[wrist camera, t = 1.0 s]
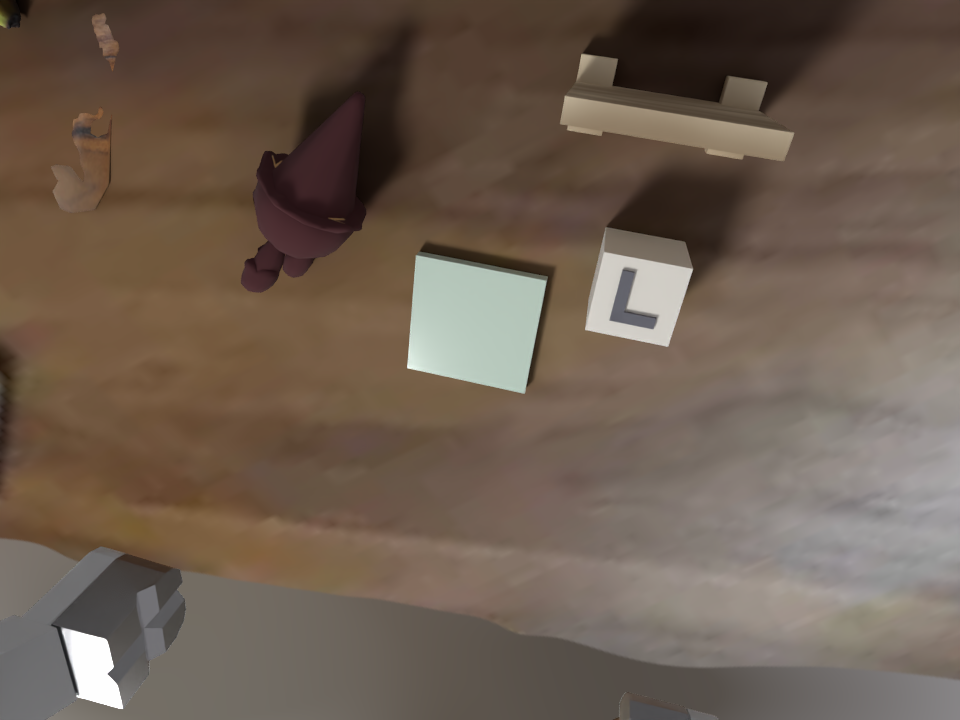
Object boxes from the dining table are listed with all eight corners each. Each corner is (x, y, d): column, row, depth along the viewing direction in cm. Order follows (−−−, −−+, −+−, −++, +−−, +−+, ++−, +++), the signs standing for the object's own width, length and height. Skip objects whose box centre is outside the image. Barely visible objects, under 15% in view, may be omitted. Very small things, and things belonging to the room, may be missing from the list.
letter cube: (605, 226, 39) (603, 253, 34) (685, 241, 38) (693, 270, 34) (588, 298, 41) (585, 331, 37) (662, 312, 41) (668, 348, 36)
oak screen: (582, 53, 34) (571, 61, 27) (764, 81, 33) (807, 98, 26) (568, 127, 36) (554, 155, 29) (739, 156, 35) (772, 192, 28)
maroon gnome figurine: (269, 47, 32) (193, 257, 40) (370, 141, 31) (272, 334, 40) (351, 53, 37) (270, 236, 46) (439, 132, 37) (339, 302, 45)
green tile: (419, 251, 42) (416, 255, 41) (547, 276, 41) (546, 280, 40) (410, 362, 47) (407, 367, 46) (526, 387, 46) (524, 393, 45)
